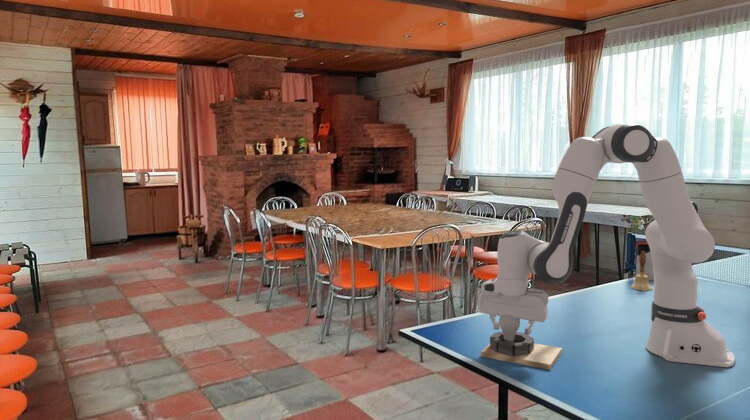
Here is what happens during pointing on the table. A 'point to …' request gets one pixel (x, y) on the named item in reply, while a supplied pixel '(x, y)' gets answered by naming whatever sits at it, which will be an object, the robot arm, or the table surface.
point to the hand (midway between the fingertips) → (511, 331)
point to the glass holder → (648, 265)
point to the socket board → (532, 359)
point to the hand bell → (642, 276)
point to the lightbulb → (509, 327)
